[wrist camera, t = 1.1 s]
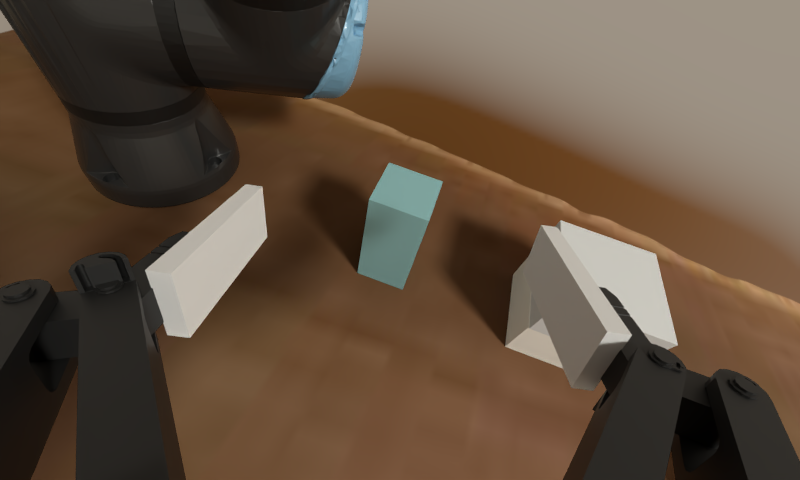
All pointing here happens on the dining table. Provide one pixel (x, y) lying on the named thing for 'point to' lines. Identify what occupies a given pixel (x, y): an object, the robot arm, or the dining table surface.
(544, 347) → the tower base
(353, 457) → the dining table surface
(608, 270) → the tower top
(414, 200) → the teal post
